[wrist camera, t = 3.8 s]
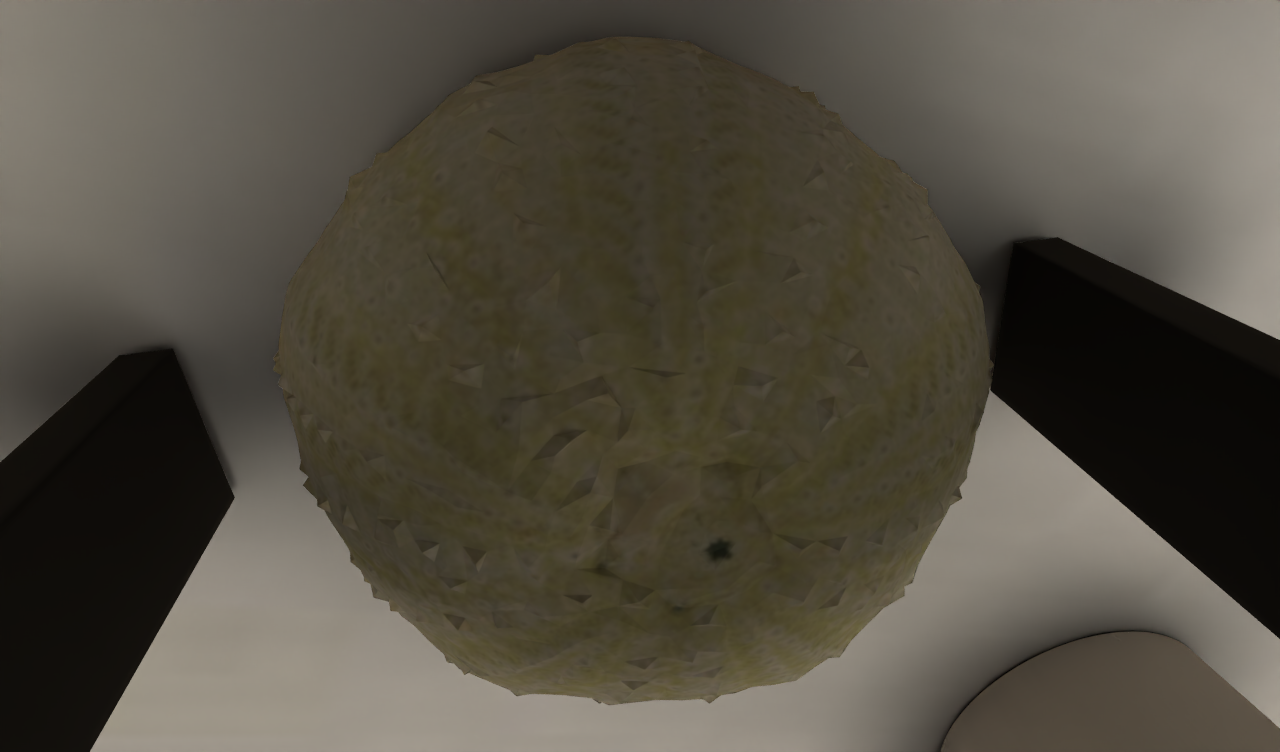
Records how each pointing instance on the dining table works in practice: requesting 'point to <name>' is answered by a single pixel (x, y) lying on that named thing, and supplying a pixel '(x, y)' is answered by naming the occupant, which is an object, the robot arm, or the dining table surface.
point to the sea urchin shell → (634, 376)
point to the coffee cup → (1113, 703)
